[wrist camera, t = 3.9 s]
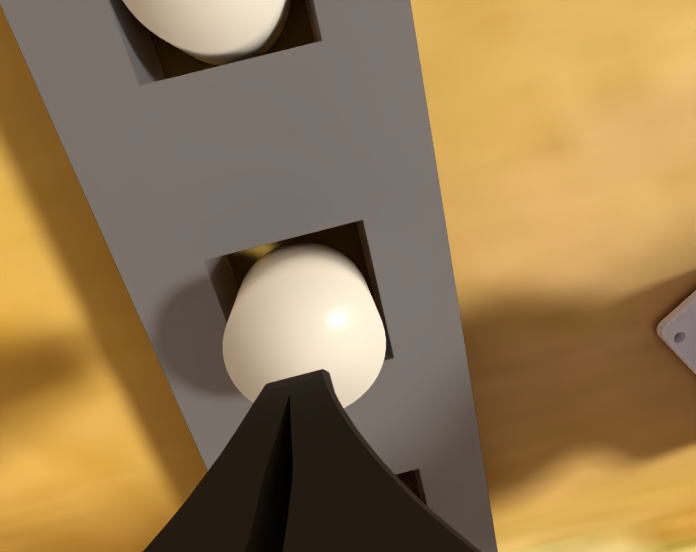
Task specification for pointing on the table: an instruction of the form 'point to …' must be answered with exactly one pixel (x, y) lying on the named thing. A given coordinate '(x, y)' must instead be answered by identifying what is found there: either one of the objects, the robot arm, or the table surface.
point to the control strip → (272, 210)
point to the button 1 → (214, 26)
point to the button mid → (304, 323)
